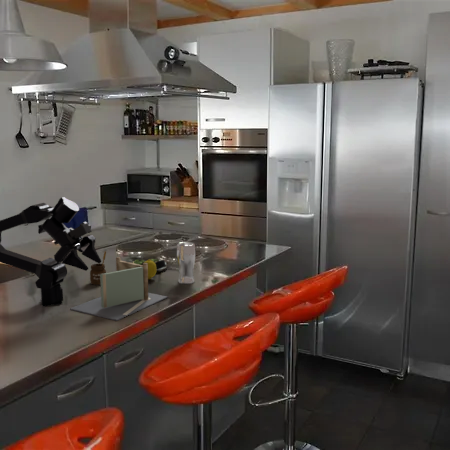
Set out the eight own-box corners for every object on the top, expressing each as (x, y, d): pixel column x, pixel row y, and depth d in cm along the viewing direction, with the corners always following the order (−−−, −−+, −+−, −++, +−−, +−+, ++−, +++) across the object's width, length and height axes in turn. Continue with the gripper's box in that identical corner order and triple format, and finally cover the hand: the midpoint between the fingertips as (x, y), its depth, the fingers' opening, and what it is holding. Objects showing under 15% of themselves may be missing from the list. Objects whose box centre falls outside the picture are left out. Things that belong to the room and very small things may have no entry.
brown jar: (88, 282, 202) (87, 251, 200) (104, 279, 205) (103, 249, 203) (93, 286, 197) (91, 254, 195) (109, 283, 200) (108, 252, 198)
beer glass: (174, 280, 204) (174, 242, 202) (191, 278, 207) (191, 241, 204) (180, 285, 198) (180, 246, 195) (198, 283, 201) (197, 244, 198)
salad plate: (120, 276, 211) (119, 265, 210) (120, 265, 228) (120, 254, 227) (168, 274, 214) (168, 263, 214) (165, 263, 232) (165, 253, 231)
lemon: (149, 276, 210) (149, 257, 208) (159, 279, 206) (159, 259, 205) (139, 279, 206) (138, 259, 204) (149, 282, 202) (148, 261, 201)
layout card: (117, 320, 162) (117, 319, 162) (70, 309, 172) (70, 308, 172) (167, 297, 184) (167, 296, 184) (123, 288, 194) (123, 287, 194)
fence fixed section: (149, 299, 181) (148, 263, 179) (146, 300, 180) (145, 264, 177) (119, 291, 190) (118, 257, 187) (116, 292, 188) (115, 257, 186)
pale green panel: (141, 297, 181) (140, 266, 179) (144, 298, 179) (143, 267, 177) (101, 306, 171) (99, 274, 169) (103, 308, 170) (102, 275, 168)
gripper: (58, 220, 162) (95, 255, 161) (87, 211, 179) (120, 242, 179) (38, 245, 165) (74, 280, 164) (69, 234, 183) (101, 265, 182)
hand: (94, 265), depth 172 cm, fingers open, 9 cm apart
